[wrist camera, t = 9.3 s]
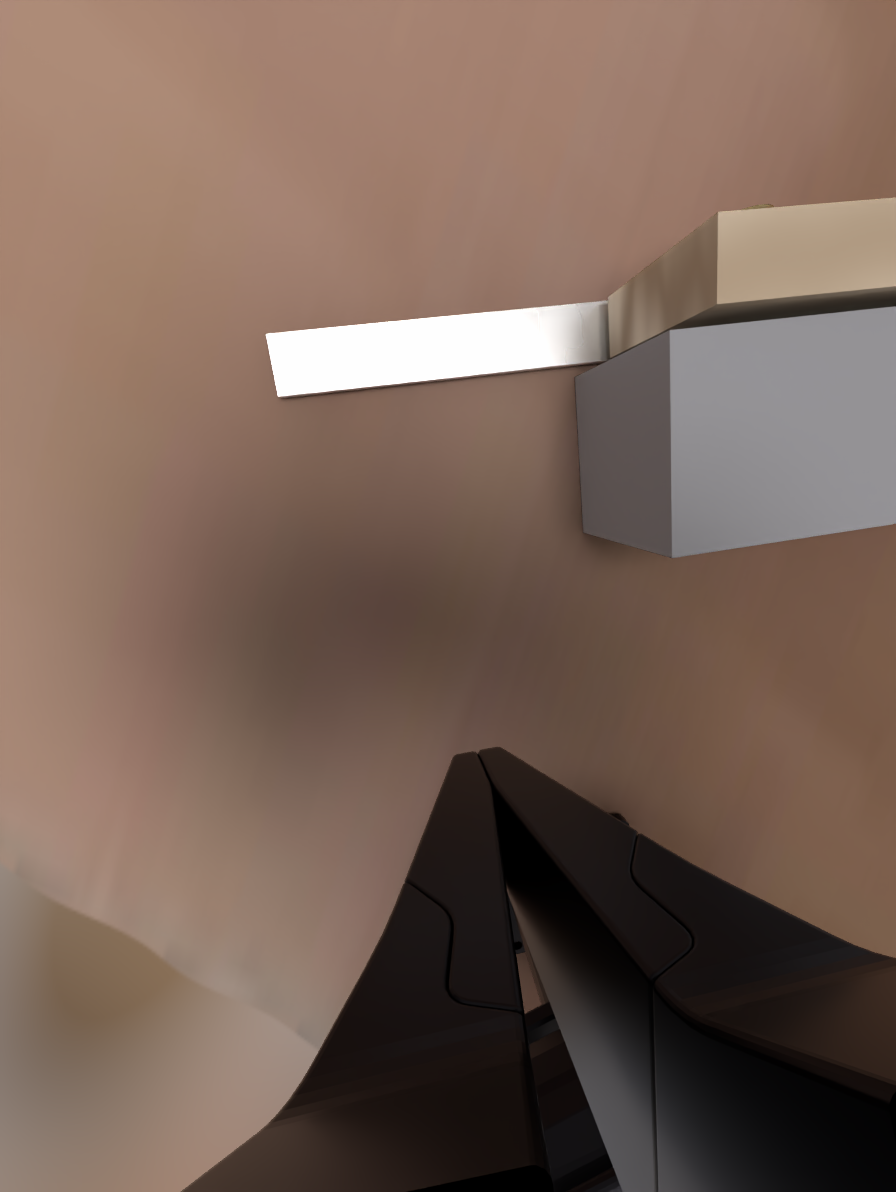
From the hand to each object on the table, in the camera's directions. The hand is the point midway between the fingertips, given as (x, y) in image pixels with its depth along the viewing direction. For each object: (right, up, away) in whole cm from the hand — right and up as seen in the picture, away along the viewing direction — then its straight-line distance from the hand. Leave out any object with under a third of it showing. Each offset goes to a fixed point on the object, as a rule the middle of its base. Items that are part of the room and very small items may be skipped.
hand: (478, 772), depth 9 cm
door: (+14, +15, +10) cm, 23 cm away
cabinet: (+14, +10, +12) cm, 21 cm away
